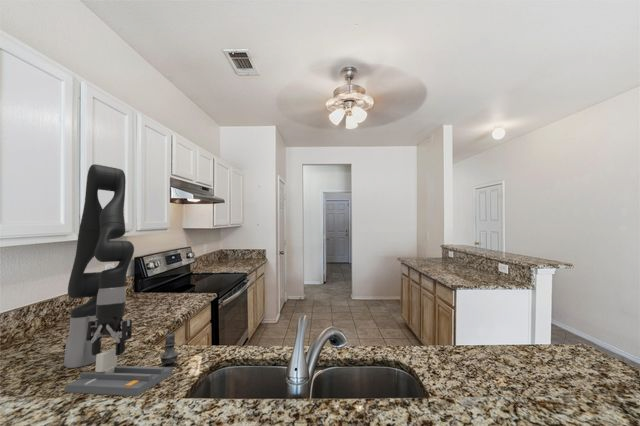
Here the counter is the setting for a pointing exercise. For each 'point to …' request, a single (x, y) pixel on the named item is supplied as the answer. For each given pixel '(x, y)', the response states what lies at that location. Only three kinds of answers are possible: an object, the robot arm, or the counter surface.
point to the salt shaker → (169, 351)
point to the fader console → (119, 380)
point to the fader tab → (106, 361)
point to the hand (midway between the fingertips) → (107, 354)
